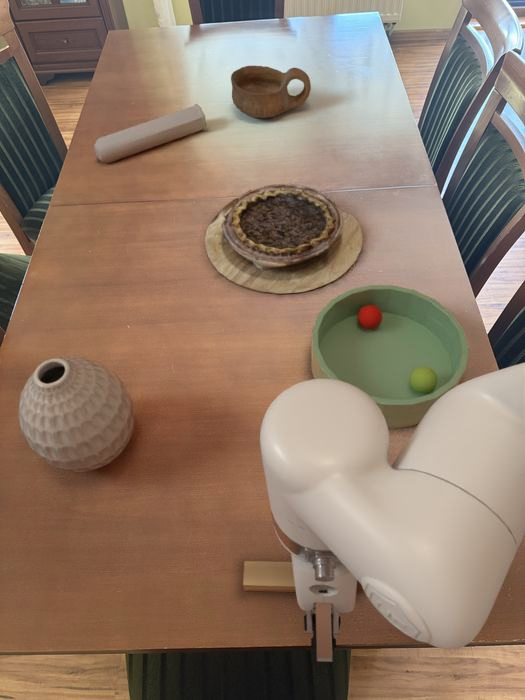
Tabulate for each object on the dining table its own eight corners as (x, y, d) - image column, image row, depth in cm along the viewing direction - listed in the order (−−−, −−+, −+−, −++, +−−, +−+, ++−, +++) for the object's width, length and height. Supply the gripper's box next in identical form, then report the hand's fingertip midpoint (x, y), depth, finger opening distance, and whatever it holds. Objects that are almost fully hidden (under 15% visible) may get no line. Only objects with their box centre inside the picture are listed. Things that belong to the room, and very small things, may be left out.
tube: (98, 153, 104) (206, 116, 111) (87, 135, 106) (195, 98, 112) (103, 171, 109) (206, 134, 116) (92, 153, 111) (195, 117, 117)
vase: (150, 400, 72) (119, 323, 59) (139, 487, 64) (99, 421, 51) (60, 404, 72) (9, 328, 59) (38, 491, 64) (-27, 426, 51)
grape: (402, 378, 68) (420, 399, 67) (423, 360, 67) (442, 381, 66) (406, 378, 71) (424, 398, 70) (426, 361, 70) (444, 381, 69)
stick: (354, 593, 55) (356, 588, 53) (244, 590, 56) (243, 585, 54) (352, 569, 57) (355, 563, 55) (245, 566, 58) (244, 560, 56)
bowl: (298, 81, 125) (302, 43, 115) (313, 124, 120) (318, 88, 110) (226, 92, 123) (225, 54, 113) (239, 136, 118) (238, 100, 108)
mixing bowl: (470, 429, 67) (484, 405, 62) (313, 427, 68) (314, 404, 63) (442, 311, 79) (452, 284, 75) (309, 312, 81) (310, 285, 76)
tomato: (381, 334, 76) (385, 318, 73) (357, 334, 76) (359, 318, 74) (379, 316, 78) (382, 299, 76) (355, 316, 79) (358, 300, 76)
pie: (391, 254, 88) (396, 231, 84) (254, 319, 80) (252, 297, 76) (302, 176, 103) (302, 153, 99) (180, 224, 95) (175, 202, 91)
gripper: (386, 640, 32) (365, 676, 45) (362, 407, 43) (351, 491, 56) (268, 637, 33) (281, 673, 46) (273, 409, 44) (283, 491, 57)
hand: (319, 573), depth 51 cm, fingers open, 9 cm apart
